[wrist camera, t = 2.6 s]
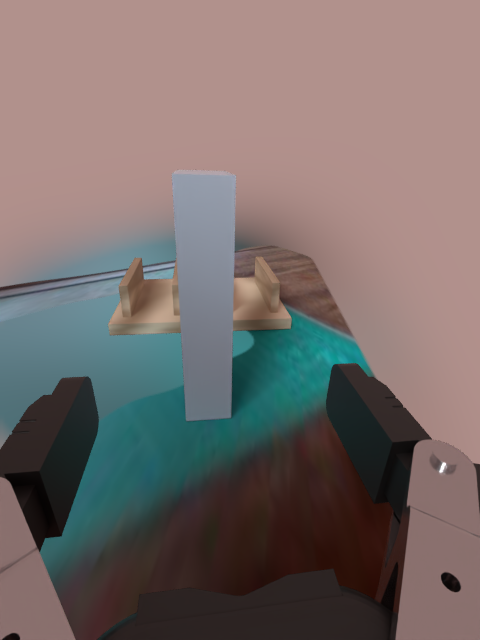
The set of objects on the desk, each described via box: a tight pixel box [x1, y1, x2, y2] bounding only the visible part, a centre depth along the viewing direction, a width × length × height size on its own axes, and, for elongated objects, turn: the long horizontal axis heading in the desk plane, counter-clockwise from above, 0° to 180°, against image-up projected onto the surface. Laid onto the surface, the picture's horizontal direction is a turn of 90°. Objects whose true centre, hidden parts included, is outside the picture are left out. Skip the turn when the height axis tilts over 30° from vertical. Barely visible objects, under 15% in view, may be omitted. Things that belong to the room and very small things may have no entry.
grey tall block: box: [172, 170, 236, 421], centre depth 22 cm, size 3×6×15 cm, turn 7°
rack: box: [108, 257, 292, 335], centre depth 38 cm, size 18×13×4 cm
